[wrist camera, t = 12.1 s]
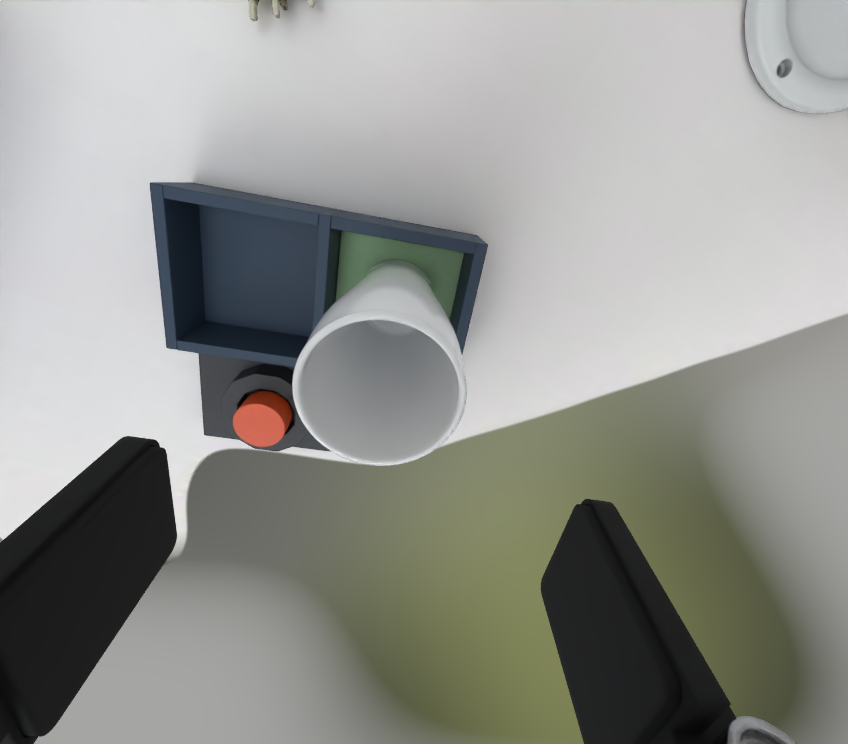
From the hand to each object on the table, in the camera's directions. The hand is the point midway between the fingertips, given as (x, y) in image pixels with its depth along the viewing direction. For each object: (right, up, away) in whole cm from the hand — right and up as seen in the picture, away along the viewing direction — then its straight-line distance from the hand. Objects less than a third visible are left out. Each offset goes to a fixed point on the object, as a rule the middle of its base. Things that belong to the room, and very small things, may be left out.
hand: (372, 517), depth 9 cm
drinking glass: (-1, +9, +19) cm, 21 cm away
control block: (-10, +2, +23) cm, 26 cm away
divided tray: (-5, +10, +20) cm, 23 cm away
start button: (-10, 0, +21) cm, 23 cm away
